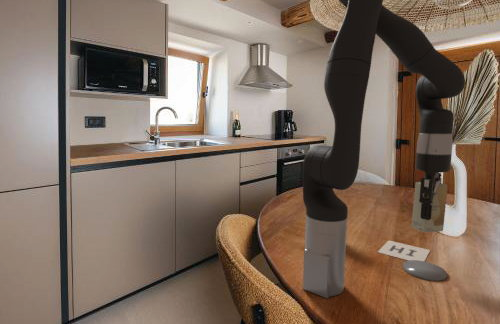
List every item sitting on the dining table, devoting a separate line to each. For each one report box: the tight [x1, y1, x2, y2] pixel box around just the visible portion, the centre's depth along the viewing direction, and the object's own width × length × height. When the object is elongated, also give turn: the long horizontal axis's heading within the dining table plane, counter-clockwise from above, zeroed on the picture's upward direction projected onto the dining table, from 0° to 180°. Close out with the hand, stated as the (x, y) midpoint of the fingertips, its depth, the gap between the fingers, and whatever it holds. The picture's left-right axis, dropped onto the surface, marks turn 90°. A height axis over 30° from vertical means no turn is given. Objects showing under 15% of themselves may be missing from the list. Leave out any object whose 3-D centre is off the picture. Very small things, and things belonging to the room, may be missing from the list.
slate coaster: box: [402, 260, 448, 282], centre depth 78 cm, size 10×10×1 cm
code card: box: [377, 239, 431, 262], centre depth 90 cm, size 12×12×1 cm
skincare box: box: [411, 181, 449, 234], centre depth 76 cm, size 6×4×12 cm
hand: (428, 215), depth 76 cm, fingers closed on skincare box, 7 cm apart
